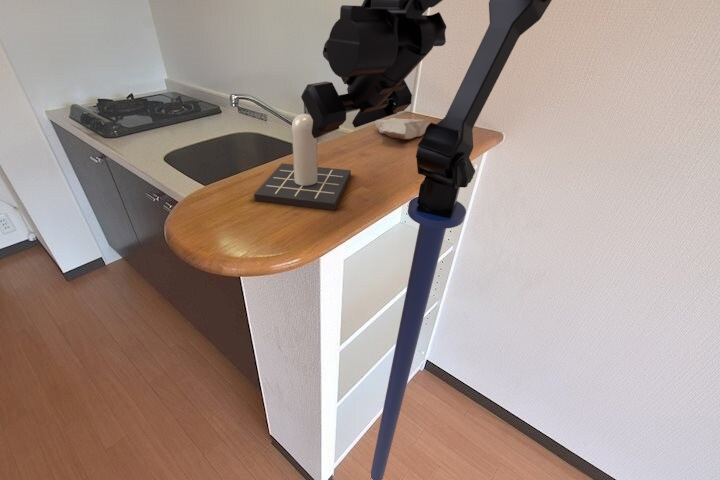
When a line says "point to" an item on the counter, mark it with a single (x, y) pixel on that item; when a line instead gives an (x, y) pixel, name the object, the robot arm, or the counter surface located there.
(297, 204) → the game board
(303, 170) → the white rounded cylinder
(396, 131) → the rock
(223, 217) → the counter surface
